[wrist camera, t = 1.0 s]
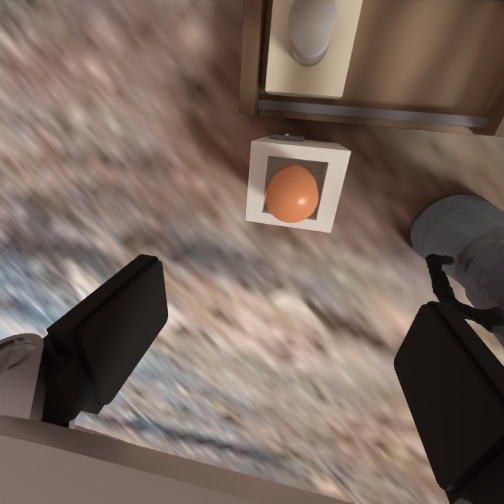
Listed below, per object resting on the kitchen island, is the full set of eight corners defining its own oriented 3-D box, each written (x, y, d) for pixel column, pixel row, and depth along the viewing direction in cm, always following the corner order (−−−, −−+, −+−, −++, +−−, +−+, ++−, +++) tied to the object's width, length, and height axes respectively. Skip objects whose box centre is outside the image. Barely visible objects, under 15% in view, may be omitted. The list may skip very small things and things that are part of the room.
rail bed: (551, -14, 20) (610, -47, 16) (481, 135, 25) (513, 137, 21) (256, -18, 23) (246, -47, 19) (247, 114, 28) (238, 113, 25)
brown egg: (320, 166, 21) (323, 174, 18) (311, 210, 23) (312, 226, 20) (274, 161, 22) (268, 168, 18) (269, 205, 24) (263, 219, 20)
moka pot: (501, 269, 31) (754, 456, 14) (370, 259, 34) (440, 405, 16) (540, 193, 27) (988, 325, 9) (386, 189, 29) (507, 285, 12)
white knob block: (338, 137, 28) (353, 143, 19) (323, 202, 31) (330, 232, 23) (267, 130, 29) (251, 133, 20) (261, 194, 32) (245, 220, 24)
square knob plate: (357, 5, 21) (388, -64, 14) (338, 99, 25) (353, 88, 17) (277, 3, 22) (263, -63, 14) (269, 94, 26) (253, 81, 18)
